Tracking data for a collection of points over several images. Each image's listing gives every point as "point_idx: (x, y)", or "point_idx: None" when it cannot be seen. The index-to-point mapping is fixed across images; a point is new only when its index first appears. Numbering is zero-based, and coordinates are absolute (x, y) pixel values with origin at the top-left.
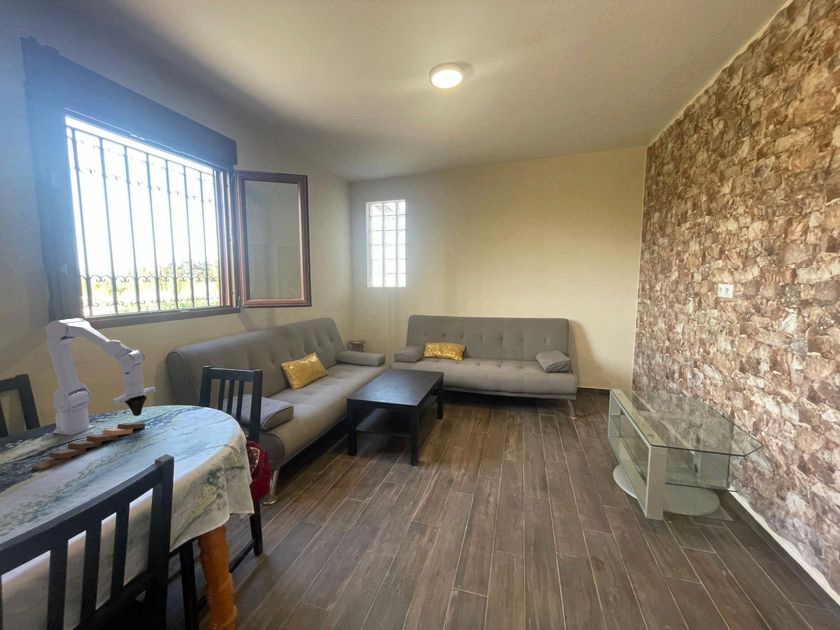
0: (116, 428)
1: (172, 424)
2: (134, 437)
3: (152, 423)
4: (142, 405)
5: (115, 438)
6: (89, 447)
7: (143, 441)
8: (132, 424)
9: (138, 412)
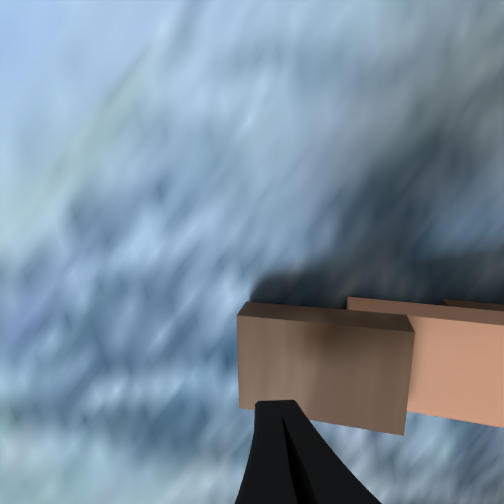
0: None
1: (122, 129)
2: (396, 211)
3: (161, 327)
4: (253, 496)
5: (461, 302)
6: None
7: (451, 59)
8: (355, 336)
9: (298, 421)
